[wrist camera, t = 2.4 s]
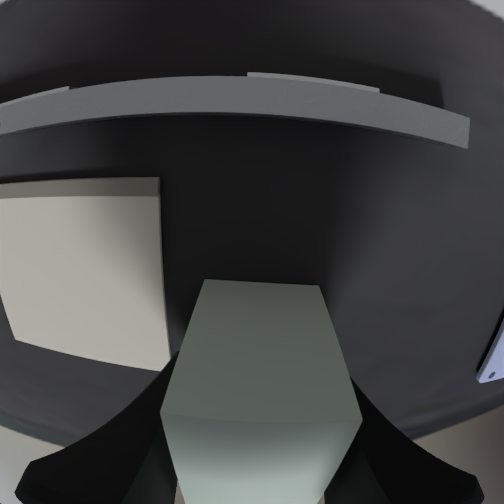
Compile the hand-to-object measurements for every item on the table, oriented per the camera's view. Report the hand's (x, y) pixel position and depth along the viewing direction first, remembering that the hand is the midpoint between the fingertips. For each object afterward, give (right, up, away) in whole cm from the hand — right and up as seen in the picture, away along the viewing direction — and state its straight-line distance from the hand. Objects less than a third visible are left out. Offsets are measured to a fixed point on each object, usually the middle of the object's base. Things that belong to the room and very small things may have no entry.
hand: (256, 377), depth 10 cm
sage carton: (0, +1, +2) cm, 2 cm away
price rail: (-4, +9, -2) cm, 10 cm away
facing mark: (-8, +3, +1) cm, 9 cm away
